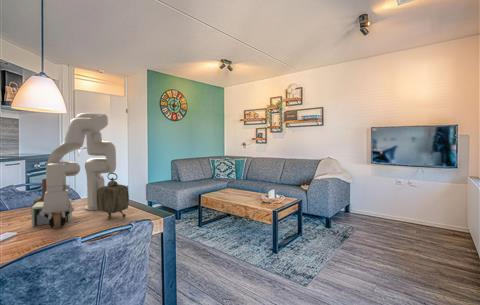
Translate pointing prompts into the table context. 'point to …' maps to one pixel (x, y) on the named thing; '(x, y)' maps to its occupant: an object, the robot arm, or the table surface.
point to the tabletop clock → (112, 197)
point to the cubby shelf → (38, 208)
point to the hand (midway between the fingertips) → (57, 225)
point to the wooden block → (44, 189)
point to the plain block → (42, 219)
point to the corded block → (58, 220)
